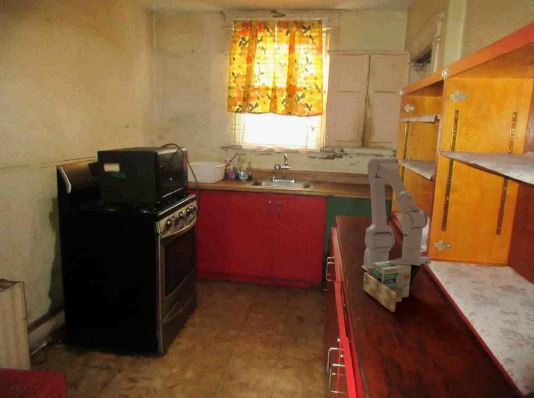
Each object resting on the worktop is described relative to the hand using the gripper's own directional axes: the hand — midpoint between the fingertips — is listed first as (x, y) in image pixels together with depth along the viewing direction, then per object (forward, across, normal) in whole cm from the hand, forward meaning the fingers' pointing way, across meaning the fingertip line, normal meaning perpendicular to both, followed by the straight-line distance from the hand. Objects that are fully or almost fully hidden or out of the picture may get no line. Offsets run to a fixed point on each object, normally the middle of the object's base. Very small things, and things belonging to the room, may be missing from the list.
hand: (408, 285), depth 128 cm
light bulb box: (+3, -7, 0) cm, 8 cm away
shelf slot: (+3, -10, -2) cm, 11 cm away
